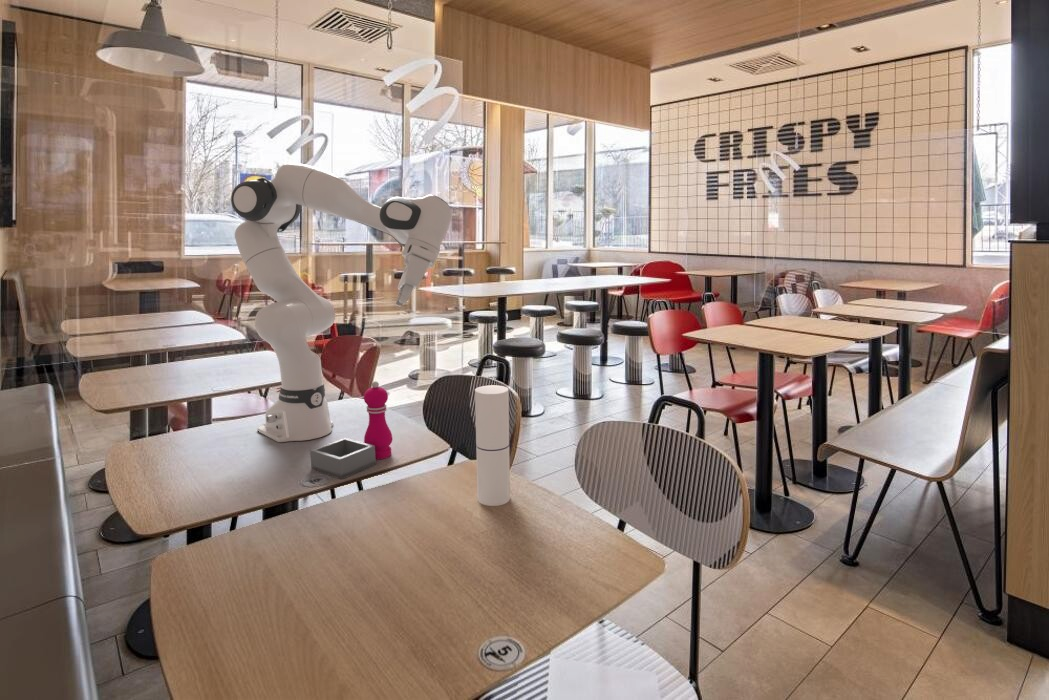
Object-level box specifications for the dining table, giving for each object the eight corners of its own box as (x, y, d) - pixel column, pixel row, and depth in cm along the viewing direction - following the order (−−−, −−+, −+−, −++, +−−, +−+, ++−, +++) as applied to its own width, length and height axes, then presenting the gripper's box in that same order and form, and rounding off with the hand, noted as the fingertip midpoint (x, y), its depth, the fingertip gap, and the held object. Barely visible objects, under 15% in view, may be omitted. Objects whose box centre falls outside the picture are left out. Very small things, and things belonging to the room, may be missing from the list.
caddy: (311, 469, 158) (310, 450, 157) (346, 455, 167) (345, 437, 166) (341, 479, 152) (340, 459, 151) (375, 464, 161) (374, 445, 160)
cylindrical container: (474, 504, 138) (471, 393, 133) (481, 491, 145) (479, 384, 140) (506, 507, 137) (504, 394, 132) (512, 493, 144) (511, 385, 138)
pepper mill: (396, 450, 170) (393, 378, 166) (388, 460, 163) (384, 385, 159) (370, 449, 171) (366, 377, 167) (361, 459, 164) (356, 384, 160)
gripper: (403, 256, 176) (385, 302, 175) (412, 244, 157) (392, 296, 155) (425, 265, 178) (407, 311, 176) (436, 254, 158) (416, 306, 157)
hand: (400, 304), depth 165 cm, fingers open, 8 cm apart
